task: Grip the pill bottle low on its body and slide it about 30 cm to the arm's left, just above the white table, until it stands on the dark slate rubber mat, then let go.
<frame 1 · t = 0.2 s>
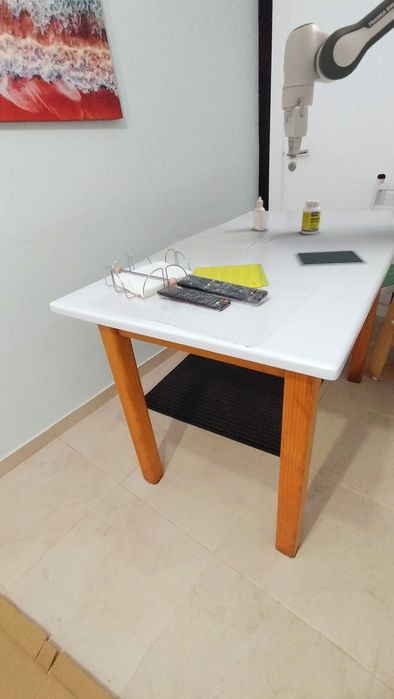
hand: (293, 154, 106), 26 cm above the table, tool pointing down, fingers open, 8 cm apart
pill bottle: (309, 233, 125), on the table
eye dropper bottle: (259, 229, 135), on the table
mat: (328, 257, 100), on the table
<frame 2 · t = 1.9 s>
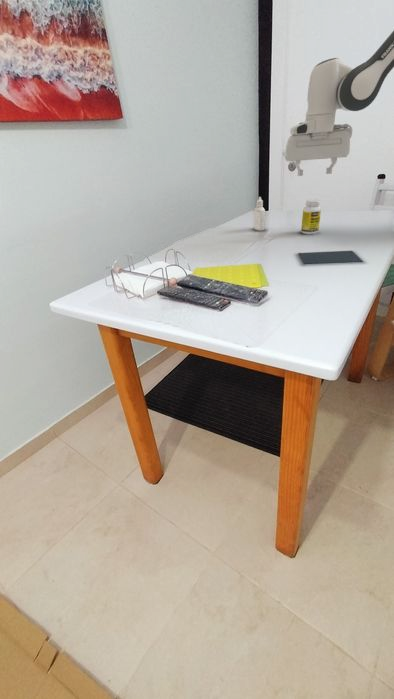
hand: (314, 174, 114), 19 cm above the table, tool pointing down, fingers open, 8 cm apart
nothing on the table moved.
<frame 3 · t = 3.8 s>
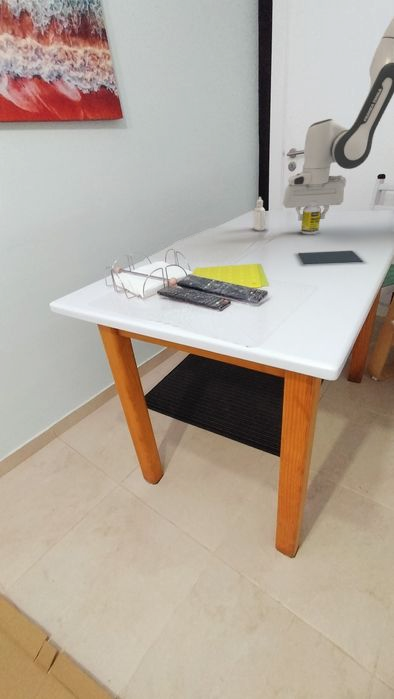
hand: (310, 219, 123), 5 cm above the table, tool pointing down, fingers closed on pill bottle, 6 cm apart
pill bottle: (309, 233, 125), on the table, touching gripper
everything else where it was.
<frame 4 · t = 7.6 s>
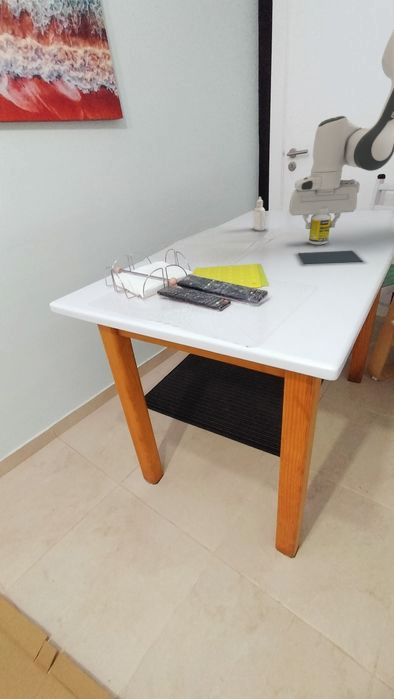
hand: (319, 228, 110), 5 cm above the table, tool pointing down, fingers closed on pill bottle, 6 cm apart
pill bottle: (318, 243, 113), on the table, touching gripper
everything else where it was.
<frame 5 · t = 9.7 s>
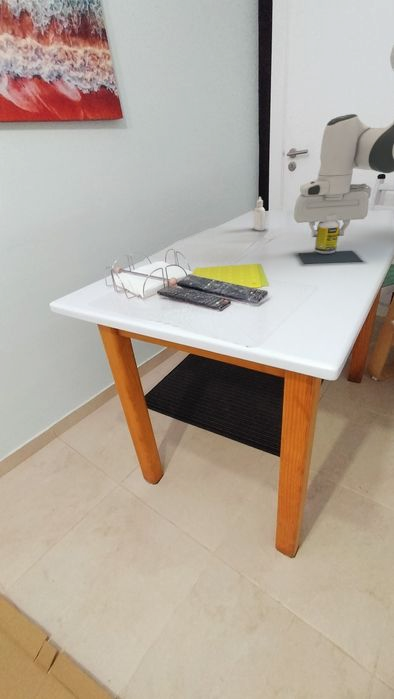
hand: (327, 236, 101), 5 cm above the table, tool pointing down, fingers closed on pill bottle, 6 cm apart
pill bottle: (325, 252, 104), on the table, touching gripper
everything else where it was.
when the fingers open (5 cm above the table, at t = 11.5 s): pill bottle stays where it is, resting on mat.
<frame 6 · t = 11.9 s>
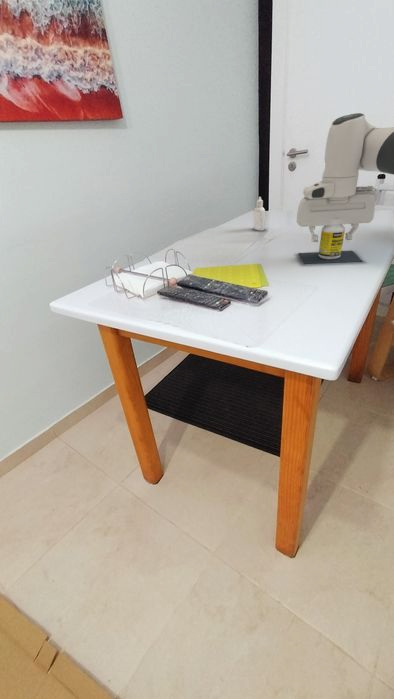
hand: (331, 240, 97), 5 cm above the table, tool pointing down, fingers open, 8 cm apart
pill bottle: (329, 257, 100), resting on mat
everything else where it was.
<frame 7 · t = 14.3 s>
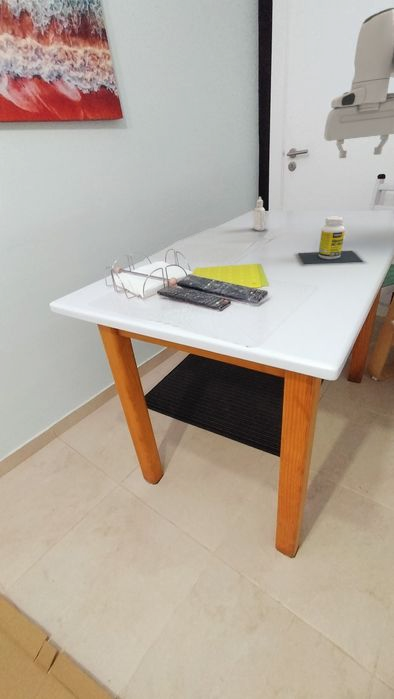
hand: (359, 156, 96), 25 cm above the table, tool pointing down, fingers open, 8 cm apart
nothing on the table moved.
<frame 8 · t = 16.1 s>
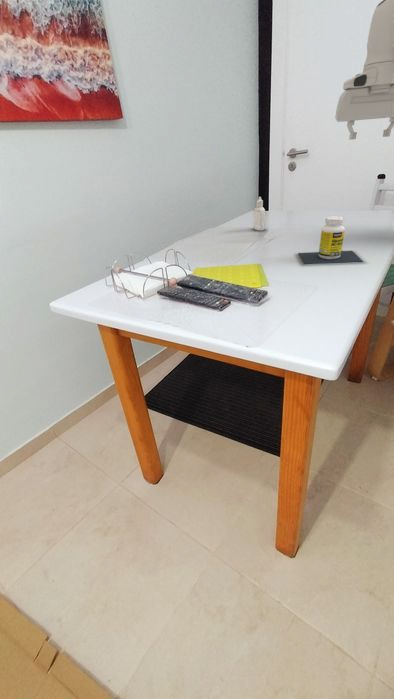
hand: (369, 138, 99), 29 cm above the table, tool pointing down, fingers open, 8 cm apart
nothing on the table moved.
at the end: pill bottle inside the target area on the mat (0.1 cm from its centre), point 0.0 cm above the mat's base; pill bottle tilted 0° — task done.
